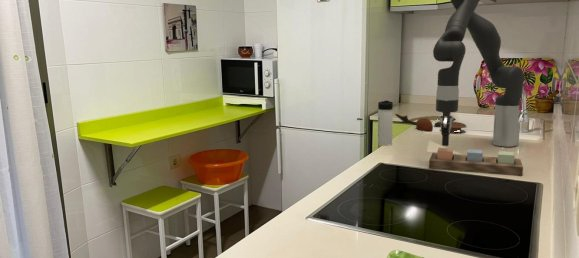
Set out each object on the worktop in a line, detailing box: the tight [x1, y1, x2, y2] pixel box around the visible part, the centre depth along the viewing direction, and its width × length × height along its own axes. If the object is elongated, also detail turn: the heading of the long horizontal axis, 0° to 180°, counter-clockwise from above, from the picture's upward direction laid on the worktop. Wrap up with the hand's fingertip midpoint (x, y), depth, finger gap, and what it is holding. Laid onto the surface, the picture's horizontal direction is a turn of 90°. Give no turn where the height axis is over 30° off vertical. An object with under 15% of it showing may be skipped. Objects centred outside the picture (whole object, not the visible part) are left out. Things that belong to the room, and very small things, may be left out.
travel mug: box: [377, 100, 394, 147], centre depth 197 cm, size 6×7×20 cm
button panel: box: [428, 152, 524, 177], centre depth 161 cm, size 30×12×3 cm, turn 67°
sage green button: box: [497, 150, 516, 164], centre depth 157 cm, size 5×5×3 cm
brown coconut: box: [439, 121, 467, 132], centre depth 221 cm, size 12×12×6 cm
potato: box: [415, 118, 434, 132], centre depth 227 cm, size 8×12×8 cm
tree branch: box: [394, 113, 457, 127], centre depth 244 cm, size 22×30×8 cm
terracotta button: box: [436, 147, 454, 160], centre depth 165 cm, size 5×5×3 cm
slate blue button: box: [466, 149, 484, 162], centre depth 161 cm, size 5×5×3 cm
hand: (445, 145), depth 164 cm, fingers closed
